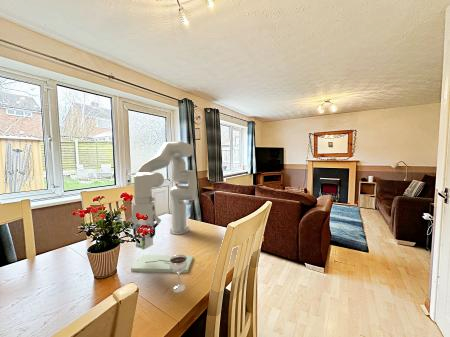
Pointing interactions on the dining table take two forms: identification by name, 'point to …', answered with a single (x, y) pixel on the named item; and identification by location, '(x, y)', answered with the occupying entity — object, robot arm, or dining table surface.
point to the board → (157, 263)
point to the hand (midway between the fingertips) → (144, 236)
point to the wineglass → (178, 269)
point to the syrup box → (144, 237)
